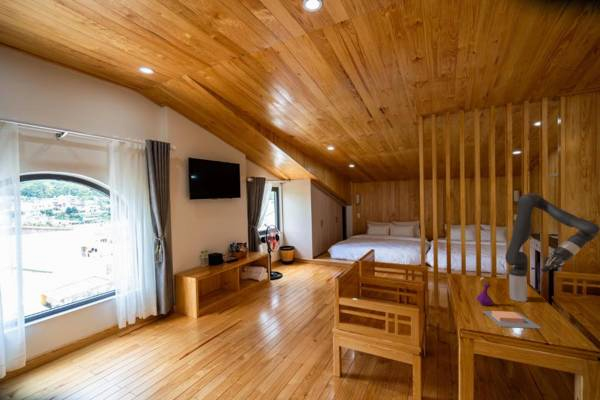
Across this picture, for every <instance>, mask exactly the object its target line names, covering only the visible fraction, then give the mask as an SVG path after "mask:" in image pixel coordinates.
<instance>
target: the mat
mask: <svg viewBox="0 0 600 400" xmlns="http://www.w3.org/2000/svg"><path fill="white" fill-rule="evenodd" d="M492 311H493V310H492ZM492 311H490V310H488V311H487V310H486V311H485V310H482V313H484V315H485V316H487V317H488V318H490V320H492V321H493V322H494V323H495V324H496V325H498V326H499V327H500V328H517V329H531V330H532V329H537V330H542V329H543V327H541V326H539V325H538V324H536V323H535V322H534V321H532V320H531V319H529V318H527V317H526V316H525V315H523V314H521V313H520V312H518V311H517V312H516V311H514V312H515V313H516V314H518V315H519V316H521V317H522V318H524V323H513V322H500V321H498V320H497V319H496V318H495V317H494V316H492Z"/></svg>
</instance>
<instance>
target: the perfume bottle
mask: <svg viewBox="0 0 600 400" xmlns="http://www.w3.org/2000/svg"><path fill="white" fill-rule="evenodd" d="M482 280H485V282H484V283H483V285H482V286H483V287H484V288H483V290H482V291H481V292H480V294H479V295H477V296H476V299H477V300H478V302H479V303H480V304H481V306H484V307H485V306H486V307H490V306H491V305H492V304H494V301H493V300H492V298H491V297H490V296H489V294H488V290H489V288H490V287H491V284H490V282H489V281H488V280H487V279H486V278H485V277H483V276H482V277H480V280H479V281H482Z"/></svg>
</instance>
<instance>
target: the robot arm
mask: <svg viewBox="0 0 600 400" xmlns="http://www.w3.org/2000/svg"><path fill="white" fill-rule="evenodd" d="M534 208H536V209H539V210H541V211H543V212H544V213H547V215H549V216H550V217H551V218H553V219H554V220H555V221H557V222H559V223H561V224H563V225H564V226H566V227H568V228H576V229H578V232H576V233H575V234H573V235H571V236H570V237H569V238H568V239H567V238H566V239H567V240H565V241H564V242H562V243H561V244H560V245H559V246H557V248H555V249H554V250H553V251H552V252H553V254H552V255H550V257H548V256H544V260H543V265H544V266H543V267H542V268H541V269H540V271H541V272H542V273H544V274H546V273H547V272H548V271H550V270H552V269H553V270H556V269H559V268H561V267H564V266H566V263H565V262H568V261H569V260H570V259H572V258H573V257H574V256H575V255H576V254H578V252H580V250H582V248H583V247H585V246H586V244H588V243H589V242H591V241H592V240H593V239H595V238H596V237H597V236H598V235H599V233H600V226H599V225H598V224H597V223H595V222H593V221H591V220H588V219H585V218H582V217H578V216H576V215H574V214H573V213H570V212H568V211H566V210H564V209H562V208H561V207H558V206H557V205H555V204H553V203H551V202H549V201H548V200H547V199H545V198H544V197H542V196H541V195H539V194H537V193H533V192H532V193H527V194H523V195H521V196H520V197H519V200H518V205H517V213H516V214H517V215H516V217H515V223H514V226H513V230H512V235H511V237H510V243H509V245H508V248H507V250H506V253H505V257H504V258H505V259H504V260H505V262H506V264H508V265H509V266H513V267H512V268H510V269H509V270H508V277H509V278H508V281H509V283H508V284H509V298H510V300H513V301H516V302H520V303H521V302H527V301H528V288H527V287H528V285H527V284H528V283H527V273H528V270H529V269H528V266H529V265H528V263H529V262H528V256H527V254H526V253H525V252H523V251H520V250H521V248H522V247H523V245H524V244H526V242H527V241H529V239H530V238H531V234H532V231H533V223H532V213H533V210H534Z"/></svg>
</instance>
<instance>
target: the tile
mask: <svg viewBox="0 0 600 400" xmlns="http://www.w3.org/2000/svg"><path fill="white" fill-rule="evenodd" d="M515 312H516V311H502V310H501V311H500V310H492V316H494V317H495V318H496V319H497V320H498V321H500V322H513V323H524V318H522V317H521V316H519V315H518V314H516V313H515Z"/></svg>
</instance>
